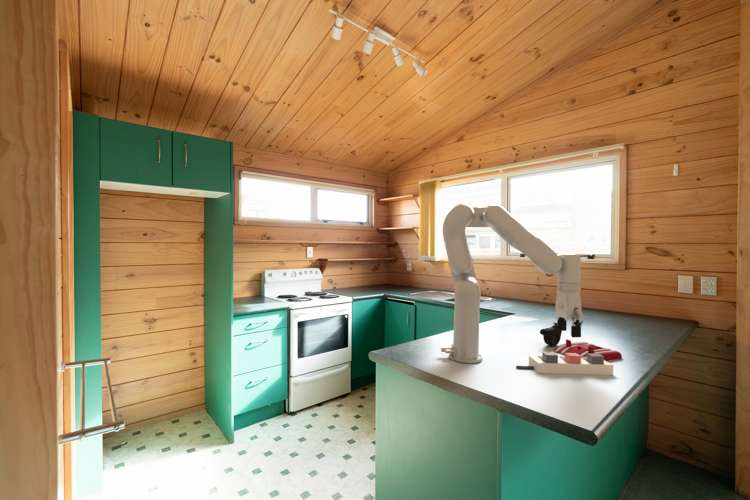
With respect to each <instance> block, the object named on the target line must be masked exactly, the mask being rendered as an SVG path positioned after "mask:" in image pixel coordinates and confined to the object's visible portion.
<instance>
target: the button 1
mask: <svg viewBox="0 0 750 500" xmlns="http://www.w3.org/2000/svg"><path fill="white" fill-rule="evenodd" d="M541 356H542V361H544V362H545V363H558V357H559V355H558V353H555V352H552V351H551V352H550V351H549V352H545V351H543V352H542V354H541Z"/></svg>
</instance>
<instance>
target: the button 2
mask: <svg viewBox="0 0 750 500" xmlns="http://www.w3.org/2000/svg"><path fill="white" fill-rule="evenodd" d="M565 361H566V362H567V363H569V364H581V356H580V355H578V354H577V353H565Z"/></svg>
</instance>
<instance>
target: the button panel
mask: <svg viewBox="0 0 750 500" xmlns="http://www.w3.org/2000/svg"><path fill="white" fill-rule="evenodd" d="M515 369H517V370H518V369H519V370H521V369H522V370H534V371H535V372H536V373H537V374H562V375H563V374H565V375H566V374H567V375H595V376H596V375H597V376H599V375H601V376H614V364H612V363H610V362H608V361H605V360H604V365H603V364H591V363H589V362H587V357H581V364H569V363H567V362H566V361H565V356H564V355H560V356H559V355H558V363H545V362H544V361H542V355H528V365H515Z"/></svg>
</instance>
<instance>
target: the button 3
mask: <svg viewBox="0 0 750 500" xmlns="http://www.w3.org/2000/svg"><path fill="white" fill-rule="evenodd" d="M587 362H589V363H591V364H603V365H604V356H602V355H600V354H588V353H587Z"/></svg>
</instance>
